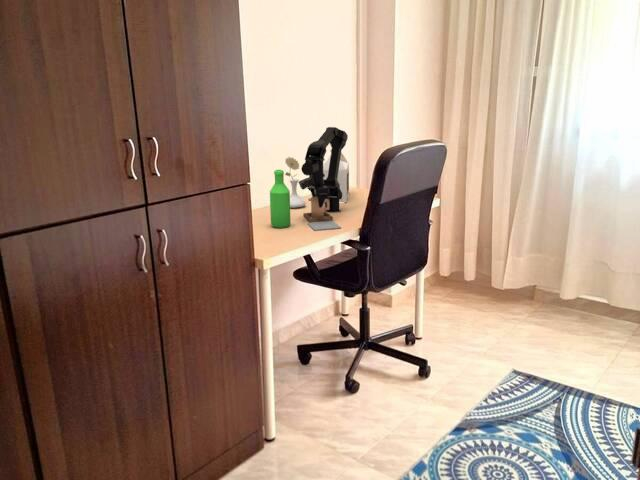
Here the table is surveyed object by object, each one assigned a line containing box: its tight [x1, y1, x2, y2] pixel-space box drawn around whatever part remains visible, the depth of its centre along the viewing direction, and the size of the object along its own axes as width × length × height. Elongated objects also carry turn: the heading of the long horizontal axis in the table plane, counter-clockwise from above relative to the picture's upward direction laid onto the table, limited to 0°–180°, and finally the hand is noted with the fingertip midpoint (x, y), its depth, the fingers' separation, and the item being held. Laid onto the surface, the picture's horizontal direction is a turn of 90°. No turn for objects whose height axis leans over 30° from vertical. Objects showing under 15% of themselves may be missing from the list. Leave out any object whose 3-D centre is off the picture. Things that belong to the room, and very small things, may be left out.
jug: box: [308, 196, 330, 218], centre depth 262 cm, size 10×6×10 cm, turn 106°
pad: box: [307, 220, 342, 232], centre depth 250 cm, size 12×12×1 cm
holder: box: [303, 210, 334, 223], centre depth 263 cm, size 11×11×2 cm
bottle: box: [269, 169, 292, 229], centre depth 248 cm, size 9×9×25 cm
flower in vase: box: [284, 156, 307, 209], centre depth 284 cm, size 13×11×25 cm
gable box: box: [323, 148, 350, 203], centre depth 300 cm, size 22×13×28 cm, turn 174°
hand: (317, 205), depth 261 cm, fingers open, 9 cm apart
